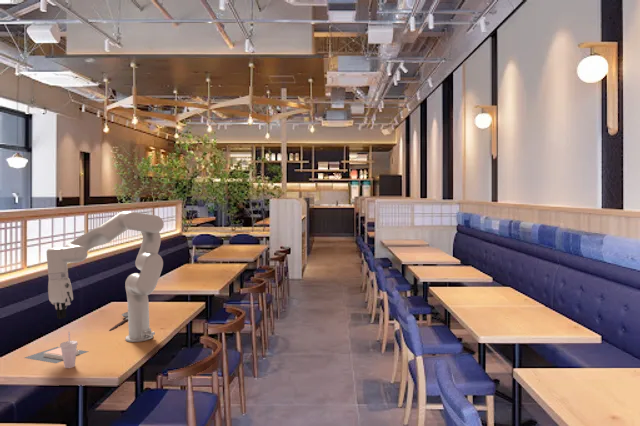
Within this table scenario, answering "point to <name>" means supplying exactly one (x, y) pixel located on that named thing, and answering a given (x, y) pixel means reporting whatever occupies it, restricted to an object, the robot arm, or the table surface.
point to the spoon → (122, 321)
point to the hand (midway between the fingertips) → (61, 317)
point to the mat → (41, 357)
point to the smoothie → (69, 352)
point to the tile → (56, 353)
